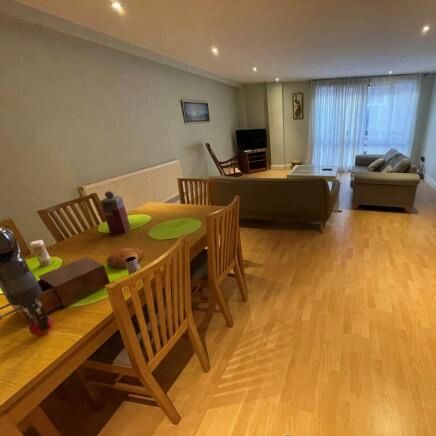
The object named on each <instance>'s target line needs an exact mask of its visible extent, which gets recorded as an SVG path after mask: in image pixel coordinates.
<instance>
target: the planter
mask: <svg viewBox="0 0 436 436" xmlns="http://www.w3.org/2000/svg"><path fill="white" fill-rule="evenodd" d="M125 264H126V270H127V273H128V276H129V275H130V274H132V273H134V272H136V271H138V270H140V271H141V269H140V266H139V262H137V259H136V257H129V258H126V259H125Z"/></svg>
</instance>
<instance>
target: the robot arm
mask: <svg viewBox="0 0 436 436" xmlns="http://www.w3.org/2000/svg"><path fill="white" fill-rule="evenodd" d="M37 281H38V280H37V278H36V276H35V274H34V273H33V271H32V270H31V268H30V267H29V264H28V262H27V260H26V259H25V257H24V256H23V253H22V251H21V248H20V246H19V242H18V240H17V237H16V235H15V233H14V232H13V231H12V230H11V229H10V228H8V227H5V226H2V225H0V290H1V292H2V294H3V295H4V297H5V299H6V300H7V302H8V304H10V306H12V305H14V306H16V305H20V307H21V308H22V310H23V311H24V313H25V314H26V313H27V316H29V317H30V319H31V321H33V320H35V322H36V324H38V326H39V328H40V330H41V331H42V332H43V331H45V330H47V329H49V328H50V325H49V323H48V321H47V320H49V318H48V317H49V316H48V315H47V314H48V313H46V312H45V310H44V307H42V306H41V302H40V301H39V300H37V298H38V297H39V296H40V295H41V294H42V290H41V288H40V286H39V284H38V282H37ZM40 318H41V319H40Z"/></svg>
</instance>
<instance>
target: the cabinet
mask: <svg viewBox="0 0 436 436" xmlns="http://www.w3.org/2000/svg"><path fill="white" fill-rule="evenodd" d="M37 277H38V280H43V281H44V282H46V283H47V284H49V285H50V286H52V287H53V288H54V289H55V291H56V293H57V295H58V297H59V299H60V301H61V303H62V306H61V307H62V308H63V309H66V308H69V307H70V306H72V305H75V304H76V303H78V302H80V301H82V300H84V299H85V298H88V297H89V296H91V295H94V294H95V293H98V292H99V291H100V290H101V291H102V290H103V289H105V288H106V287H105V285H107V284H109V283H110V284H111V282H110V278H109V276H108V273H107V270H106V268H105V264H102V263H101V262H98V261H96V260H95V259H92V258H90V257H88V256H85V257H82V258H79V259H77V260H74V261H72V262H70V263H67V264H64V265H62V266H60V267H57V268H55V269H52V270H49V271H47V272H45V273H42V274H40V275H38V276H37Z"/></svg>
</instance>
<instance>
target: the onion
mask: <svg viewBox="0 0 436 436" xmlns="http://www.w3.org/2000/svg"><path fill="white" fill-rule="evenodd" d="M47 317H48V318H49V320H47V321H48V323H49V325H50V328H49V329H47V330H45V331H43V332H42V331H41V330H40V328H39V326H38V324H36V322H35V320H33V321H32V322H31V324H29V327H28V330H29V332H30V334H32V335H34V336H42V335H46V334H48V333H50V331H51V330H52V329H53V327H54V325H55V322H54V321H55V320H54V319H52V317H50V316H47ZM40 319H41V318H40Z"/></svg>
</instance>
